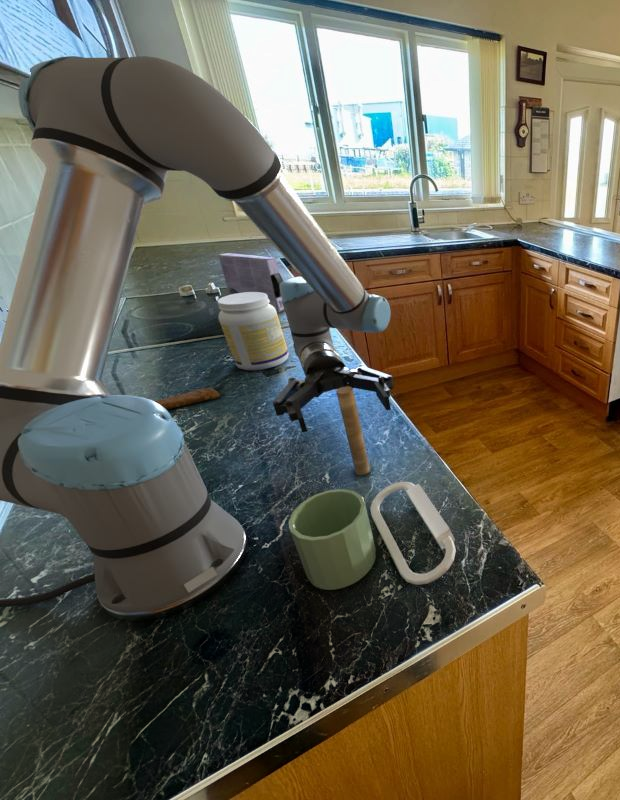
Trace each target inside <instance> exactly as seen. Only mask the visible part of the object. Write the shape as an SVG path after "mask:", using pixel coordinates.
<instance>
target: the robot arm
mask: <svg viewBox="0 0 620 800" xmlns="http://www.w3.org/2000/svg"><path fill="white" fill-rule="evenodd" d="M29 69H30V72H31V76H30V77H29V78H27V79H22V78H21V79H20V82H19V86H18V94H17V95H18V96H17V97H18V104H19V109H20V112H21V114H22V117H23V118H25V119H26V120H27V121H28V124H29V126H28V127H29V130H31V132H32V138H31V141H30V148H31V149H32V150H33V152H34V153H35V155H36V156H37V157H38V158H39V159H40V160H41V161H42V163H43V164H44V167H45V172H44V175H43V179H42V184H41V187H40V192H39V194H38V199H37V203H36V206H35V211H34V214H33V218H32V222H31V226H30V229H29V232H28V237H27V240H26V244H25V248H24V251H23V256H22V260H21V263H20V266H19V271H18V275H17V278H16V282H15V285H14V289H13V294H12V298H11V301H10V304H9V308H8V311H7V316H6V320H5V324H4V328H3V331H2V334H1V335H2V336H1V340H0V501H1V502H5V503H10V504H13V505H18V506H23V507H27V508H32V509H37V510H43V511H45V512H46V511H47V512H50V513H54V514H58V515H61V516H62V517H64V518H65V519H66V520H67V521H68V522H69V523H70V525H71V526H72V527H73V528H74V530H75V531H76V533H77V534H78V535H79V537H80V538H81V540H82V541H83V542H84V544H85V545H86V546H87V547H88V549H89V550H90V552H91V553H92V558H93V570H94V571H93V573H90V574H88V575H85V576H83V577H80V578H78V579H75V580H73V581H72V580H71V581H70V582H68V583H65V584H63V585H61V586H59V587H56V588H54V589H52V590H48V591H46V592H43V593H38V594H34V595H29V596H21V597H12V598H0V608H10V607H21V606H26V605H27V606H29V605H34V604H39V603H42V602H46V601H49V600H52V599H55V598H58V597H60V596H62V595H64V594H66V593H69V592H70V591H73V590H76V589H78V588H81V587H83V586H86V585H88V584H91V583H93V582H94V585H95V594H96V596H97V600H98V602H99V604H100V605H101V606H102V607H103V609H104V610H105V611H106V612H107V613H108V615H110V616H111V617H112V618H113V619H117V620H120V621H125V622H144V621H146V622H147V621H152V620H156V619H160V618H161V619H162V618H163V617H167V616H171V615H172V614H176V613H178V612H181V611H183V610H185V609H187V608H189V607H191V606H194V605H195V604H197V603H200V602H201V601H202V600H205V598H207V597H209V596H210V595H212V594H213V593H214V592H216V591H217V590H218V589H220V588H221V587H222V586H223V585H224V584H225V583H227V581H229V580H230V579H231V578H232V576H233V575H234V574H235V573H236V572H237V571H238V569H239V568H240V566H242V564H243V562H244V561H245V559H246V556H247V554H248V551H249V550H248V549H249V538H248V535H247V533H246V531H245V529H244V527H243V525H242V524H241V523H240V522H239V521H238V520H237V519H236V518H235V517H233V516H232V515H231V514H230V513H229V512H228V511H226V510H225V509H223V507H221V506H220V505H218V503H216V502H215V501H214V500H212V498H211V496H210V494H209V491H208V490H207V487H206V485H205V482H204V481H203V479H202V476H201V473H200V472H199V470H198V467H197V466H196V463H195V461H194V458H193V456H192V454H191V452H190V450H189V447H188V446H187V444H186V441H185V436H184V433H183V431H182V430H181V428H180V426H179V425H178V424H177V422H176V421H175V420H174V419H173V417H172V415H171V413H170V412H169V411H168V410H166V409H165V408H164V407H163V406H161V405H160V404H158V403H157V402H154V401H155V400H152V399H149V398H146V397H142V396H137V395H129V394H114V393H113V392H112V391H111V390H110V389H109V388H108V387H107V386H106V385H105V384H104V382H103V380H102V379H103V374H104V370H105V367H106V362H107V358H108V354H109V349H110V344H111V341H112V337H113V333H114V328H115V324H116V320H117V316H118V312H119V308H120V304H121V300H122V295H123V290H124V287H125V284H126V283H125V282H126V279H127V274H128V270H129V266H130V262H131V257H132V253H133V250H134V249H133V248H134V245H135V242H136V237H137V232H138V228H139V224H140V220H141V215H142V212H143V208H144V205H146V204H147V203H151V202H154V201H158V200H161V198H162V197H163V193H164V189H165V186H166V181H167V177H168V172H169V171H171V172H173V171H174V172H175V171H178V172H179V171H180V172H187V173H189V174H191V175H192V176H195V177H197V178H199V179H200V180H202V182H204V183H206V184H207V186H209V187H210V188H211V189H212V190H213V191H214V193H215V194H216V195H217V196H218V197H219V198H221V199H222V200H225V201H230V202H234V203H235V204H236V206H238V207H239V209H240V210H241V211H242V212H243V213H244V214H245V215H246V216H247V218H248V219H249V220H250V221H251V222H252V223H253V224H254V225H255V227H256V228H257V229H258V230H259V231H260V233H262V234H263V235H264V237H266V239H267V240H268V241H269V243H271V244H272V246H273V247H274V248H275V249H276V250H277V251H278V252H279V253H280V255H282V257H283V258H284V259H285V260H286V261H287V263H288V264H290V266H291V267H292V268H293V269H294V270H295V271H296V273H298V275H299V276H296V277H290V278H286V279H283V281H282V282H281V283H280V292H281V297H282V304H283V306H284V309H285V310H284V313H285V316H286V319H287V322H288V323H287V324H288V327H289V329H290V335H291V339H292V342H293V345H292V346H293V349H294V353H295V356H297V358H298V361H299V364H300V366H301V368H302V371H303V373H304V376H305V378H304V379H301V380H299V379H296V377H290V378H288V379H287V382H288V383H287V384H286V386H285V387H283V389H282V390H281V392H280V393H279V394H277V396H276V398H275V399H274V400H273V401H272V406H273V409H274V412H275V415H276V416H278V417H281V416H284V415H285V414H287V415H288V417H289V420H290V422H295V421H298V423H299V426H300V430H301V432H302V433H306V432H307V433H308V428H307V424H306V421H305V418H304V415H303V412H302V409H303V408H304V407H305V406H307V405H308V403H310V402H311V401H312V400H313V399H314V398H319V397H320V396H322V394H323V393H326V392H331V391H333V390H337V389H339V388H341V387H346V386H349V387H352V388H353V389H358V390H362V391H368V392H372V393H373V392H374V393H375V395H376V397H377V398H378V400H379V401H380V403H381V405H382V406H383V407H384V409H385V411H390V410H392V407H391V402H390V397H391V392H390V390H394V388H395V386H394V380H393V375H390V374H388V373H385V372H382V371H379V370H376V369H373V368H370V367H367V366H366V365H365V364H364V363H359V364H357V368H354V369H351V368H349V367H347V365H346V364H345V362H344V361H343V359H342V358H341V356H340V353H338V351H337V350H336V348H335V345H334V343H333V339H332V334H331V330H330V329H336V330H337V329H338V330H345V331H354V332H360V333H361V332H362V333H382V332H384V331H385V330H386V329H387V327H388V325H389V323H390V320H391V314H392V313H391V312H392V311H391V308H390V303H389V301H388V300H387V299H386V298H385V297H383V296H382V295H376V294H374V293H372V294H370V293H368V291H367V290H366V288H365V287H364V286H363V284H362V283H361V282H360V280H359V279H358V278H357V276H356V274H354V272H353V271H352V270H351V268H350V267H349V265H348V264H347V263H346V261H345V260H344V258H343V257H342V256H341V254H340V253H339V252H338V250H337V249H336V247H335V246H334V244H333V243H332V242H331V240H330V239H329V237H328V236H327V235H326V233H325V232H324V231H323V229H322V228H321V226H320V225H319V224H318V222H317V221H316V220H315V218H314V217H313V215H312V214H311V213H310V211H309V210H308V208H307V207H306V206H305V205H304V203H303V202H302V200H301V199H300V198H299V196H298V195H297V193H296V192H295V190H294V189H293V188H292V187H291V185H290V184H289V183H288V181H287V180H286V178H285V177H284V175H283V174H282V171H283V163H282V161H281V159H280V158H279V155H277V153H276V152H275V150H274V149H273V147H272V145H270V143H269V142H268V141H267V139H266V138H265V137H264V136H263V134H262V133H261V132H260V130H259V129H258V128H257V127H256V125H254V124H253V122H252V121H251V120H250V119H249V118H248V116H246V115H245V114H244V113H243V112H242V111H241V110H240V109H239V108H238V107H237V106H236V105H235V104H234V103H233V102H232V101H231V100H229V99H228V98H227V97H226V96H225V95H224V94H223V93H222V92H220V91H219V90H218V89H216V88H215V87H214V86H212V85H211V84H210V83H209V82H207V81H206V80H205V79H203V78H202V77H200V76H199V75H197V74H196V73H194V72H192V71H191V70H189V69H187V68H186V67H183V66H181V65H179V64H177V63H174V62H171V61H169V60H166V59H164V58H160V57H155V56H146V55H142V56H141V55H139V56H137V55H136V56H129V57H128V56H127V57H83V56H77V55H69V56H60V57H55V58H52V59H49V60H44V61H40V62H38V63H36V64H34V65H33V66H32V67H30V68H29Z"/></svg>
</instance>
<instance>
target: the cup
mask: <svg viewBox="0 0 620 800" xmlns="http://www.w3.org/2000/svg"><path fill="white" fill-rule="evenodd" d="M288 527H289V532H290V535H291V537H292V540H293V543H294V545H295V548H296V551H297V554H298V557H299V559H300V562H301V564H302V567H303V570H304V573H305V576H306V578H307V579H308V581H309V583H311V585H312V586H314V587H316V588H318V589H321V590H326V591H333V590H339V589H344V588H347V587H349V586H351V585H354V584H355V583H357V582H359V581H360V580H362V579H363V578H364V577H365V576H366V575H367V574H368V573H369V571H371V569H372V567H373V565H374V563H375V561H376V557H377V552H376V551H377V549H376V545H375V540H374V537H373V532H372V526H371V524H370V519H369V513H368V510H367V506H366V502H365V501H364V497H363V496H362V495H360V494H359V493H358V492H356V491H355V490H349V489H344V488H338V489H329V490H325V491H322V492H319V493H316V494H314V495H312V496H310V497H308V498H307V499H305V500H304V501H302V502H301V503H299V505H298V506H297V507H296V508H294V510H293V511H292V513H291V515H290V518H289V519H288Z"/></svg>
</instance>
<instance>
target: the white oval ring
mask: <svg viewBox="0 0 620 800" xmlns="http://www.w3.org/2000/svg"><path fill="white" fill-rule="evenodd" d="M401 490H402V491H403V490H404V492H405V493H406V495H407V496H408V498H409V499H410V501H411V503H412V505H413V506H414V508H415V509H416V511H417V513H418V515H419V516H420V518H421V519H422V520H423V522H424V524H425V525H426V527H427V529H428V531H429V532H430V534H431V535H432V537H433V538H434V540H435V542H436V543H437V544H438V546H439V548H440V549H441V551H442V553H444V557H443V559H442V560H441V562H440V563H439V564H438V565H437V566H436V567H435V568H433V569H432V570H430V571H428V572H424V573H417V572H413V571H412V570H411V568H410V567H409V565H408V563H407V561H406V559H405V557H404V555H403V553H402V551H401V549H400V548H399V545H398V543H397V542H396V540H395V538H394V536H393V534H392V532H391V531H390V529H389V526H388V525H387V522H386V521H385V519H384V517H383V515H382V513H381V511H380V507H381V504H382V502H383V501H384V500H385V499H386V498H387V497H388V496H389V495H391V494H393V493H395V492H397V491H401ZM369 510H370V516H371V518H372V520H373V522H374V524H375V526H376V528H377V530H378V532H379V534H380V536H381V539H382V540H383V542H384V544H385V546H386V548H387V550H388V553H389V554H390V557H391V559H392V561H393V563H394V565H395V567H396V568H397V570H398V573H399V575H400V577H402V579H404V581H405V582H407V583H408V584H411V585H415V586H422V585H428V584H430V583H433V582H434V581H436V580H438V579H440V578H441V577H442V576H443V575H444V574H445V573H447V571H449V569H450V568H451V566H452V564H453V563H454V561H455V556H456V552H457V550H456V549H457V548H456V545H455V541H456V539H455V536H454V535H453V533H452V531H451V528H450V527H449V525H448V524H447V522H446V521H445V520H444V518H443V517H442V515H441V514H440V512H439V511H438V509H437V508H436V506H435V505H434V504H433V502H432V500H431V499H430V497H429V496H428V495H427V493H426V492H425V490H424V489H423V487H422V486H421V485H420V483H417V484H414V483H413V482H412V481H398V482H394V483H392V484H390V485H387V486H386V487H384V488H382V490H380V491H379V492H378V493H377V494H376V496H375V497H374V498H373V499H372V501H371V504H370V508H369ZM444 549H445V550H444Z"/></svg>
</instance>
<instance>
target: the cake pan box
mask: <svg viewBox="0 0 620 800" xmlns="http://www.w3.org/2000/svg"><path fill="white" fill-rule="evenodd" d="M218 259H219V263H220V266H221V270H222V275H223V278H224V281H225V284H226V288H227V292H228V295H231V294H236V293H244V292H261V293H265V294H267V296H268V299H269V301H270V302H269V304H270V305H272V306H273V307H274V308H275V309H276V312H277V313H280V312H283V311H285V309H284V306H283V304H282V297H281V292H280V283H281V282H282V281H284V279H283V277H282V275H281V274H280V269H279V264H278V261H277V258H276V257H273V256H272V257H271V256H260V255H252V254H240V253H229V252H228V253H227V252H226V253H219V254H218Z"/></svg>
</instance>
